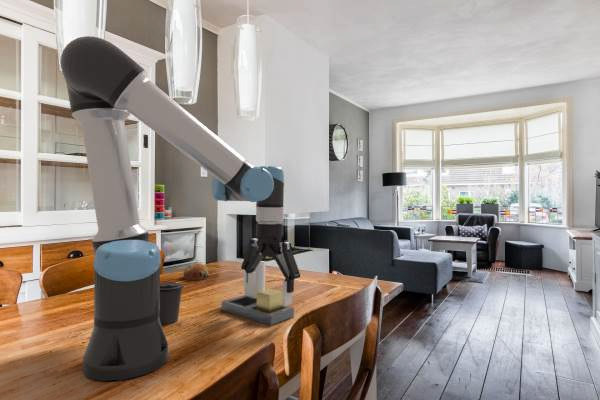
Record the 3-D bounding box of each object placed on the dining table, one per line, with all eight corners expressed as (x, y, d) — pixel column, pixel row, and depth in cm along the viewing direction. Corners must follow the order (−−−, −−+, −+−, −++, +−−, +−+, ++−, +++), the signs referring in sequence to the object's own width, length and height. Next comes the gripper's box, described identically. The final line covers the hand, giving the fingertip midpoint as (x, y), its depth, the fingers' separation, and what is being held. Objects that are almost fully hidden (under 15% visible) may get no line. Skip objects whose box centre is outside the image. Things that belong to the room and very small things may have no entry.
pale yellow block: (269, 321, 96) (269, 295, 96) (256, 317, 99) (256, 291, 99) (282, 316, 100) (282, 291, 100) (269, 313, 103) (269, 288, 103)
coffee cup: (165, 328, 89) (165, 288, 89) (143, 323, 93) (144, 284, 93) (189, 319, 96) (190, 282, 96) (168, 314, 100) (169, 278, 100)
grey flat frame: (271, 325, 92) (271, 315, 92) (221, 309, 105) (221, 301, 105) (293, 317, 99) (293, 307, 99) (244, 303, 112) (244, 295, 112)
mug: (258, 305, 110) (258, 266, 110) (239, 302, 113) (239, 264, 113) (273, 297, 119) (273, 260, 119) (255, 294, 122) (255, 259, 122)
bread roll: (204, 283, 153) (200, 265, 155) (215, 276, 146) (211, 258, 148) (182, 287, 146) (178, 268, 148) (192, 280, 139) (188, 260, 142)
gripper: (314, 224, 94) (313, 305, 94) (248, 220, 110) (247, 289, 110) (295, 225, 88) (294, 312, 88) (229, 221, 104) (228, 294, 104)
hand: (268, 299), depth 99 cm, fingers open, 13 cm apart
